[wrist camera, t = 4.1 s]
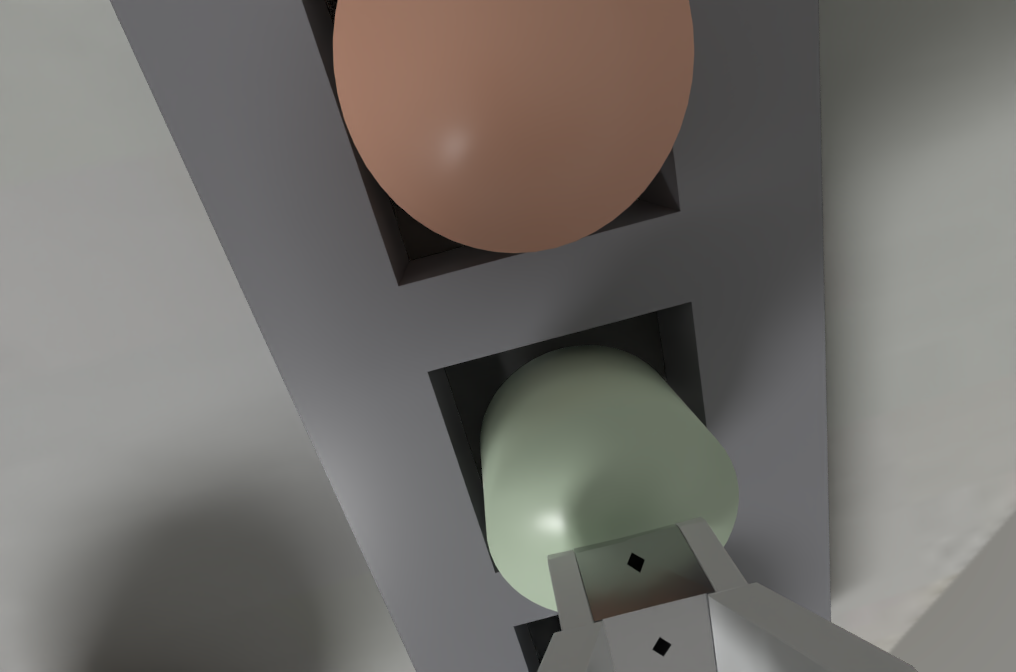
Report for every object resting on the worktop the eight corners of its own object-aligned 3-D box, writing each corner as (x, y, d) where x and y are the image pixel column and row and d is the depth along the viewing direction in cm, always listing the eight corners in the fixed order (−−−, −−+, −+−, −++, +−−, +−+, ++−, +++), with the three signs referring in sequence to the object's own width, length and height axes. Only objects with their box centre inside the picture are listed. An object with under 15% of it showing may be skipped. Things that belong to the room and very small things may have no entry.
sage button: (455, 376, 12) (454, 447, 9) (663, 320, 12) (727, 374, 9) (507, 539, 14) (519, 641, 11) (688, 492, 14) (748, 581, 11)
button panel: (159, -31, 10) (72, -84, 8) (732, -185, 10) (812, -282, 8) (473, 719, 19) (475, 800, 17) (786, 637, 19) (832, 706, 17)
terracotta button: (329, -21, 9) (271, -98, 6) (604, -95, 9) (670, -204, 6) (416, 252, 11) (401, 289, 8) (645, 191, 11) (710, 206, 8)
